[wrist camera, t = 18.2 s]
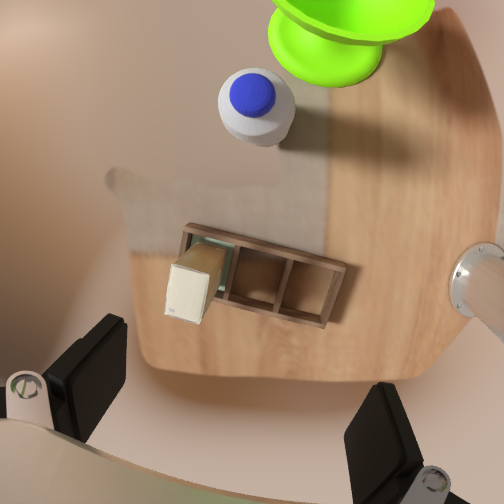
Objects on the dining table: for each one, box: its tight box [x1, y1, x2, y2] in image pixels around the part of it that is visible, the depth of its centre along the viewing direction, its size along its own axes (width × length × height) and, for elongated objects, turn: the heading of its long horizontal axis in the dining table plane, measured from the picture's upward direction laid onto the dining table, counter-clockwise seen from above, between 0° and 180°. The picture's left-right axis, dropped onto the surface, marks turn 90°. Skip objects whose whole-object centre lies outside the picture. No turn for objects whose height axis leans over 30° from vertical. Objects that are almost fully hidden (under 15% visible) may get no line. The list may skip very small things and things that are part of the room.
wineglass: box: [268, 0, 435, 87], centre depth 26 cm, size 16×16×18 cm
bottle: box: [218, 68, 295, 147], centre depth 30 cm, size 7×7×20 cm
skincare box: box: [164, 239, 228, 324], centre depth 39 cm, size 6×4×12 cm
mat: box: [190, 234, 235, 291], centre depth 45 cm, size 6×7×1 cm
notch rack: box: [178, 223, 347, 329], centre depth 44 cm, size 22×9×2 cm, turn 76°
